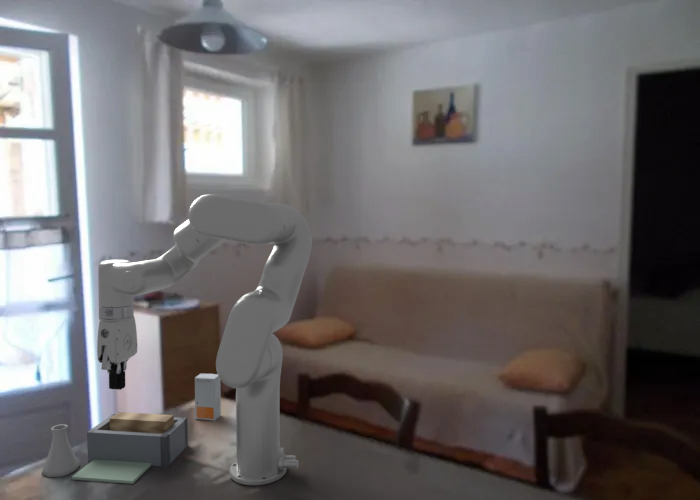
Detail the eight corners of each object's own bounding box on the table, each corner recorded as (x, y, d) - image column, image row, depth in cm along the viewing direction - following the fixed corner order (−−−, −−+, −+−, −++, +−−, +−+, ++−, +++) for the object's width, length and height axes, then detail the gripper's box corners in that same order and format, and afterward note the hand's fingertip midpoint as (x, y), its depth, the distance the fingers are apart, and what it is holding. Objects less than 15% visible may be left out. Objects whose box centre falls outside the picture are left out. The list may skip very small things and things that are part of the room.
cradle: (187, 445, 131) (187, 417, 131) (167, 466, 120) (166, 436, 120) (114, 440, 134) (113, 413, 133) (87, 461, 123) (86, 432, 122)
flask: (63, 480, 114) (61, 435, 114) (34, 476, 116) (32, 432, 115) (86, 464, 122) (84, 421, 121) (59, 461, 123) (57, 419, 122)
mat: (151, 465, 121) (151, 463, 121) (132, 483, 113) (132, 481, 113) (94, 461, 123) (93, 459, 123) (71, 479, 115) (71, 476, 115)
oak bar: (174, 435, 128) (173, 415, 127) (166, 442, 124) (165, 421, 123) (119, 432, 129) (118, 412, 129) (110, 439, 125) (109, 418, 125)
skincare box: (194, 419, 147) (193, 377, 146) (201, 413, 151) (200, 372, 150) (215, 421, 146) (214, 378, 145) (221, 415, 150) (220, 373, 149)
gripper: (113, 319, 117) (114, 400, 119) (147, 307, 132) (147, 379, 133) (81, 318, 118) (83, 398, 120) (119, 305, 133) (119, 377, 134)
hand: (117, 388), depth 127 cm, fingers closed
